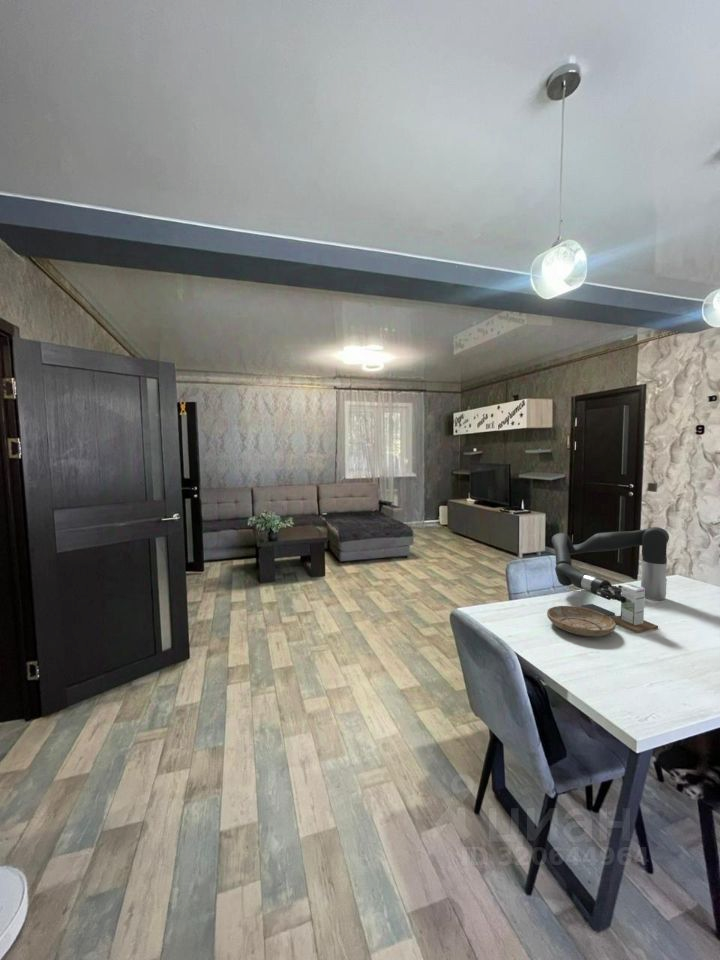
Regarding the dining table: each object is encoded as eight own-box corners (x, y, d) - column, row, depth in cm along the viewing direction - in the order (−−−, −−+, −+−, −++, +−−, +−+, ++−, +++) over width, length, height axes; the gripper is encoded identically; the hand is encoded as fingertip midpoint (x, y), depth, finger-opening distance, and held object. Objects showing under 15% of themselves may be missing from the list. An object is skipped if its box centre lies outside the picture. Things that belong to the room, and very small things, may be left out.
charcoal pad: (591, 605, 175) (591, 603, 175) (614, 615, 165) (615, 613, 165) (573, 608, 172) (573, 606, 172) (595, 619, 162) (595, 616, 161)
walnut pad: (628, 616, 164) (628, 614, 164) (658, 628, 153) (658, 625, 153) (607, 620, 160) (607, 617, 160) (636, 633, 149) (636, 630, 149)
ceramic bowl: (627, 646, 139) (627, 632, 139) (555, 639, 144) (556, 626, 144) (601, 619, 162) (601, 607, 162) (540, 614, 167) (540, 602, 166)
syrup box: (644, 623, 155) (645, 587, 154) (633, 625, 153) (635, 589, 152) (629, 617, 160) (631, 583, 159) (619, 620, 158) (621, 585, 157)
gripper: (607, 591, 174) (644, 605, 159) (583, 596, 169) (619, 610, 154) (607, 575, 174) (645, 587, 159) (584, 579, 169) (620, 592, 154)
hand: (632, 598), depth 156 cm, fingers open, 8 cm apart
